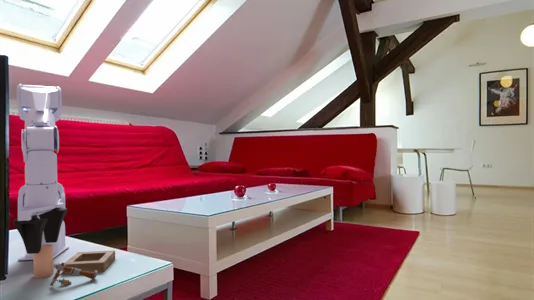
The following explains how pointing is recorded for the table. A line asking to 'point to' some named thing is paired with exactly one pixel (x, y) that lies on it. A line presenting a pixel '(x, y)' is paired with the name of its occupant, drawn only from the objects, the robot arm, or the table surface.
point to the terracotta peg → (43, 261)
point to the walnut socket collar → (91, 261)
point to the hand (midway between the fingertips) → (43, 247)
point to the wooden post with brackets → (72, 270)
